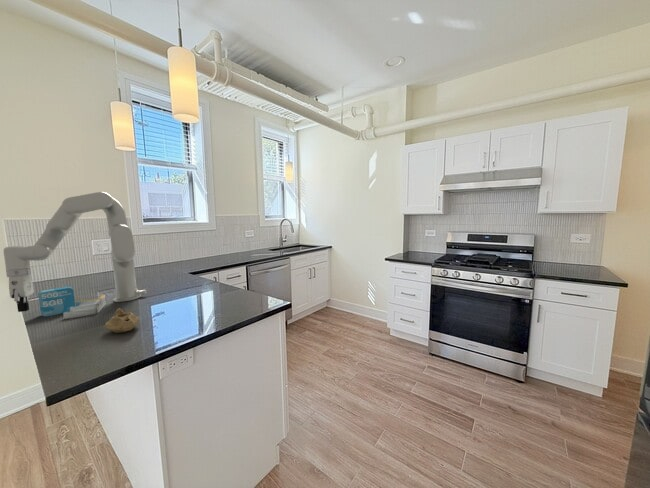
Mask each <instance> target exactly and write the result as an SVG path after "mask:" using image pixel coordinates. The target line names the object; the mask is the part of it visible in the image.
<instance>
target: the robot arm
mask: <svg viewBox="0 0 650 488" xmlns="http://www.w3.org/2000/svg"><path fill="white" fill-rule="evenodd" d="M98 210H102V211H103V212H104V213H105V216H106V221H107V227H108V236H109V237H110V241H111V251H110V255H111V262H112V267H113V277H114V286H115V294H116V297H114V298H113V299H112V300H113V302H116V303H121V302H130V301H134V300H137V299H140V298H141V294H142V295H144V294H147V290H146V289H142V290H139V288H137V281H136V279H137V278H136V270H135V262H134V258H135V256H136V249H135V240H134V236H133V235H134V234H133V231H132V229H131V228H130V227H129V225H128V219H127V215H126V212H125V208H124V207H123V205H122V204H121V203H120V202H119V201H118V200H117V199H115V198H114V197H113V196H112V195H110V194H109V193H108V192H104V191H97V192H92V193H87V194H81V195H75V196H70V197H67V198H64V199H63V201H62V203H61V205H60V207H59V208H58V209H57V210H56V212H55V213H54V214H53V215H52V216H51V218H50V219H49V221H48V223H47V224H46V226H45V229H44V231H43V233H42V234H41V236H40V237H39V238H38V239H37V240H36V242H35V244H34V245H29V246H25V245H11V246H5V247H4V248H3V256H4V266H5V270H6V271H5V274H6V278H8V290H9V297H10V299H14V302H16V307H17V312H18V313H20V312H22V313H23V312H27V311H29V310H30V306H29V305H30V304H29V296H31V295H33V294H34V293H35V288H34V283H33V279H32V276H31V275H32V269H31V262H32V261H35V262H37V261H40V262H42V261H44V260H47V259H49V258H50V257H51V255H53V253H54V252H55V250H56V249H57V247H58V246H59V245H60V243H61V241H62V240H63V239H64V238H65V237H66V236H67V235H68V234H69V232H70V231H72V229H73V227H74V226H75V225H76V222H77V221H78V220H79V219H80V217H81V216H82V214H83V213H84V214H85V213H89V212H95V211H98Z"/></svg>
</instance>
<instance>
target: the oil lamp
mask: <svg viewBox="0 0 650 488" xmlns="http://www.w3.org/2000/svg"><path fill="white" fill-rule="evenodd" d="M139 321H140V319H139V316H137V315H135V314H134V313H133V312H130V311H125V312H124V311H123V309H122V308H120V307H119V308H117V309H116V310H115V314H114V315H113V316H112V317H110V319H109V320H108V321H106V323H105V324H104V328H105V329H106V330H109V331H112V332H114V333H119V334H120V333H126V332H129V331H131V330H133V329H134V327H135V326H136V325H138V323H139Z"/></svg>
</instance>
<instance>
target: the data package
mask: <svg viewBox="0 0 650 488" xmlns="http://www.w3.org/2000/svg"><path fill="white" fill-rule="evenodd" d="M37 295H38V302H39V310H40V314H41V316H42V317H51V316H56V315H59V314H63V313H64V312H69V311H70V307H74V306H76V303H75V302H76V300H75V293H74V289H73V288H72V286H64V287H56V288H52V289H44V290H40V291H38V294H37Z"/></svg>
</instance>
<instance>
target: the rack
mask: <svg viewBox="0 0 650 488" xmlns="http://www.w3.org/2000/svg"><path fill="white" fill-rule="evenodd" d="M106 304H107V301H106V295H105V294H104V293H103V294H101V295H100V296H99V297H98V298H94V299H86V300H79V301H75V306H74V307H70V311H69V312H64V313H62V314H63V315H62V316H63V319H64V320H67V319H74V318H80V317H85V316H86V317H87V316H92V315H97V314H99V313H100V312H101V310H102V309H103V308H104V307H105V305H106Z"/></svg>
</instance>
